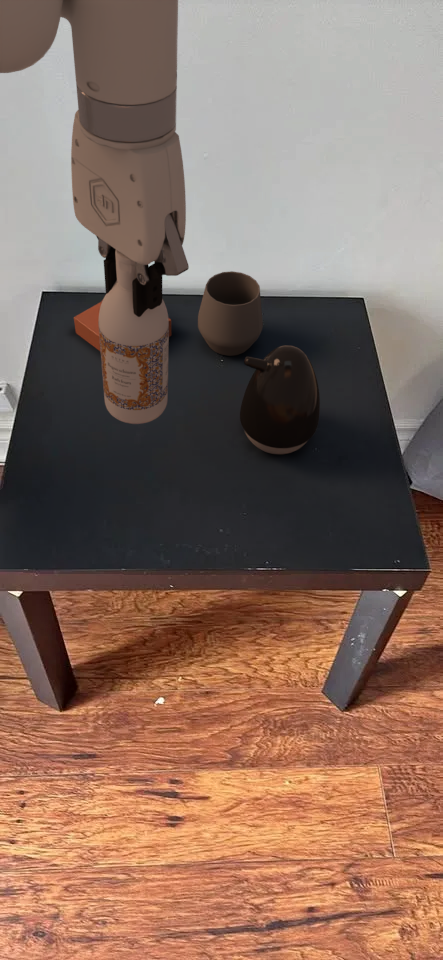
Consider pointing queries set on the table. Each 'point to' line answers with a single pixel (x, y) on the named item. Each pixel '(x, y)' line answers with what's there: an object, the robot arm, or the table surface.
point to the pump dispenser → (281, 401)
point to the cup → (230, 313)
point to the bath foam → (133, 351)
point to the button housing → (93, 325)
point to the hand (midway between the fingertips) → (134, 298)
